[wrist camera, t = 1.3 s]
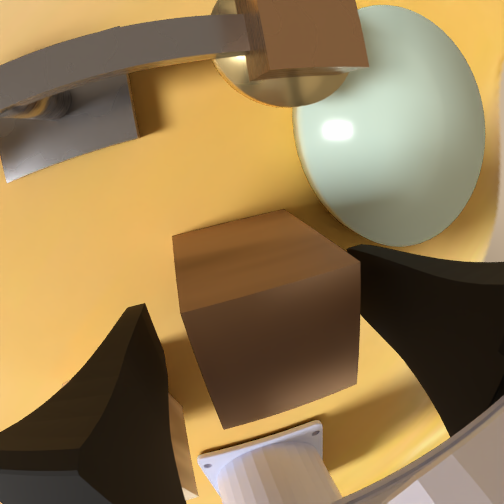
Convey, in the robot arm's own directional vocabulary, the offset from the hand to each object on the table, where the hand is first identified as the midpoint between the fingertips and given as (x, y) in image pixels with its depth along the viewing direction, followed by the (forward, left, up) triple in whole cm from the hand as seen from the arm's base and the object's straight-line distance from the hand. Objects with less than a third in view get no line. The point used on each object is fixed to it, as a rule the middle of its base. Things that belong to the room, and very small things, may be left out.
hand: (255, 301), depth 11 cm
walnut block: (0, 0, -3) cm, 3 cm away
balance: (+8, +5, -2) cm, 10 cm away
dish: (+5, -8, -2) cm, 10 cm away
